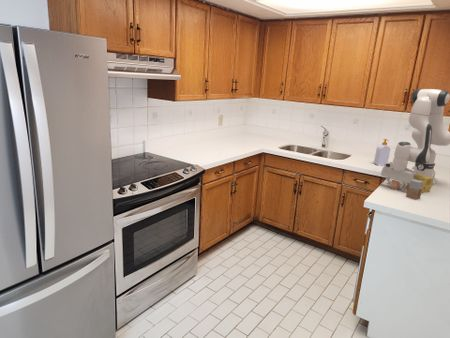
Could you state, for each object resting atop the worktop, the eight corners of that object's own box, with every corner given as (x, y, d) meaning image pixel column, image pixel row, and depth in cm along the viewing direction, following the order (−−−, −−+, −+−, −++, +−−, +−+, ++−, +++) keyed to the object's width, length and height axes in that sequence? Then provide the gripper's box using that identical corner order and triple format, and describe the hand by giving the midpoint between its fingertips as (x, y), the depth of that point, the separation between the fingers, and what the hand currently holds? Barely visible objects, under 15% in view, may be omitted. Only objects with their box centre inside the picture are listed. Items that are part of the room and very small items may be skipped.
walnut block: (410, 195, 206) (412, 186, 205) (419, 198, 202) (422, 189, 200) (405, 196, 203) (408, 187, 201) (415, 199, 198) (418, 190, 196)
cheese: (420, 193, 211) (423, 178, 208) (405, 187, 221) (408, 174, 218) (430, 192, 215) (434, 177, 213) (415, 186, 225) (419, 173, 222)
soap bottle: (378, 166, 276) (383, 139, 270) (373, 163, 282) (378, 138, 276) (387, 166, 277) (393, 140, 271) (382, 164, 284) (388, 138, 277)
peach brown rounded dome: (392, 186, 221) (393, 179, 220) (399, 188, 217) (401, 181, 216) (388, 187, 218) (390, 180, 217) (396, 190, 214) (397, 183, 213)
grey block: (412, 186, 204) (414, 179, 203) (420, 188, 200) (422, 181, 199) (409, 187, 201) (410, 180, 199) (417, 190, 197) (419, 182, 196)
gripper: (417, 169, 207) (412, 189, 211) (386, 162, 223) (382, 181, 226) (413, 171, 204) (408, 191, 207) (382, 163, 219) (378, 182, 223)
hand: (394, 185), depth 217 cm, fingers open, 7 cm apart
